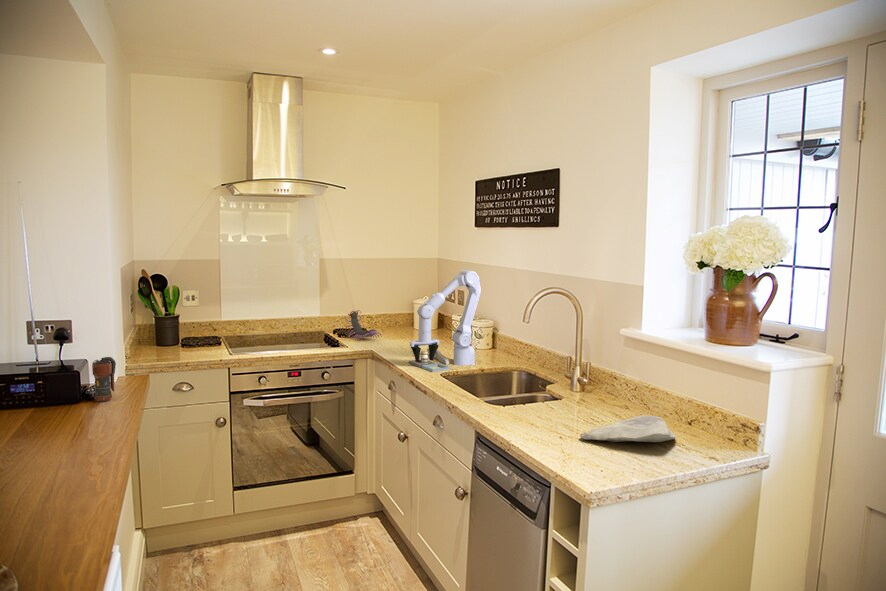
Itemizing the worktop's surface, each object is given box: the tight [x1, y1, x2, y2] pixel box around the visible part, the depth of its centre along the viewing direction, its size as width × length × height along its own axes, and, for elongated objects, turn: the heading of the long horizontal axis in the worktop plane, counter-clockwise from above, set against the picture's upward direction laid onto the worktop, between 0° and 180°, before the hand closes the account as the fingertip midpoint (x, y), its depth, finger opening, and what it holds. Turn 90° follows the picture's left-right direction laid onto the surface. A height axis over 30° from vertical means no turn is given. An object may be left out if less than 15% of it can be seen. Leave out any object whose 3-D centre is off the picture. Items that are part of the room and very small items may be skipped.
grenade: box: [91, 356, 117, 403], centre depth 213 cm, size 6×8×15 cm
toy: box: [344, 310, 382, 341], centre depth 342 cm, size 12×26×15 cm, turn 37°
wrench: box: [426, 338, 450, 366], centre depth 291 cm, size 8×2×30 cm
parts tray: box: [421, 362, 451, 373], centre depth 269 cm, size 9×9×2 cm
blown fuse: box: [420, 350, 429, 364], centre depth 274 cm, size 3×3×6 cm
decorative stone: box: [579, 414, 677, 443], centre depth 186 cm, size 28×7×30 cm
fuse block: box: [408, 359, 436, 369], centre depth 277 cm, size 8×10×2 cm
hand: (424, 361), depth 275 cm, fingers open, 7 cm apart
